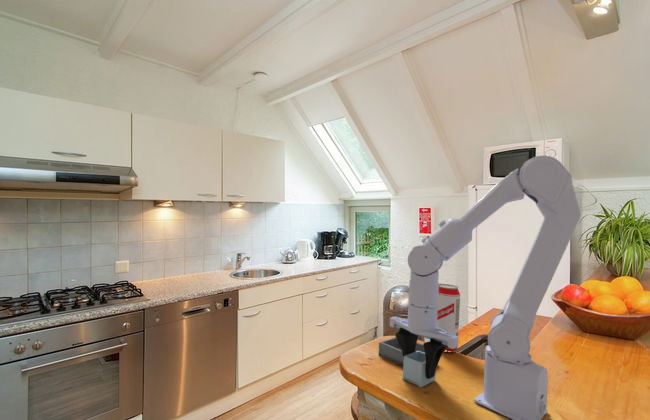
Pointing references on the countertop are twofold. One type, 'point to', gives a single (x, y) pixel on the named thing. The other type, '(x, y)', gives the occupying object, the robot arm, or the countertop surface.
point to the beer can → (448, 310)
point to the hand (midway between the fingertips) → (419, 372)
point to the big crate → (395, 350)
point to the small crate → (416, 369)
